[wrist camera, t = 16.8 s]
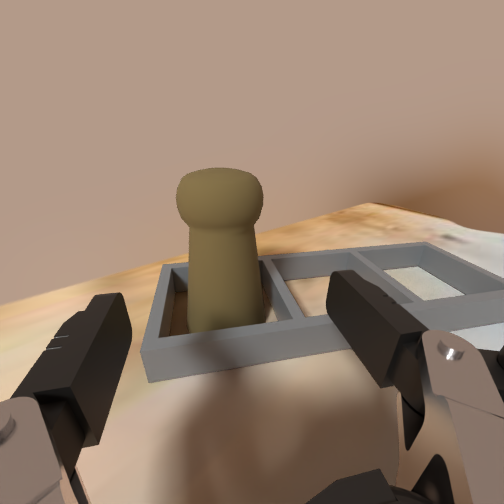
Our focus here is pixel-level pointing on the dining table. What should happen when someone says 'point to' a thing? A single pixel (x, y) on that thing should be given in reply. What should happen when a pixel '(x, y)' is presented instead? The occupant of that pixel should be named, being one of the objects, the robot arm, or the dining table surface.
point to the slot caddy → (317, 327)
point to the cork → (222, 248)
